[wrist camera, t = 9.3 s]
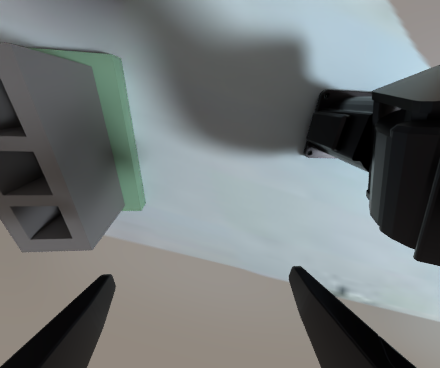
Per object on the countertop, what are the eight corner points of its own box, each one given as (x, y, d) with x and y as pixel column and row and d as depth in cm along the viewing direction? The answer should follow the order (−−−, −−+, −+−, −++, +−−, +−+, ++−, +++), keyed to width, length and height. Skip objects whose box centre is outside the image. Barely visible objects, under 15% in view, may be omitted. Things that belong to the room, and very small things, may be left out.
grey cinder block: (91, 66, 13) (9, 43, 7) (125, 205, 18) (92, 250, 13) (20, 61, 12) (-124, 32, 7) (76, 205, 18) (22, 252, 12)
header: (121, 58, 14) (81, 39, 9) (145, 203, 20) (129, 232, 16) (11, 50, 13) (-89, 25, 9) (72, 203, 19) (33, 234, 15)
